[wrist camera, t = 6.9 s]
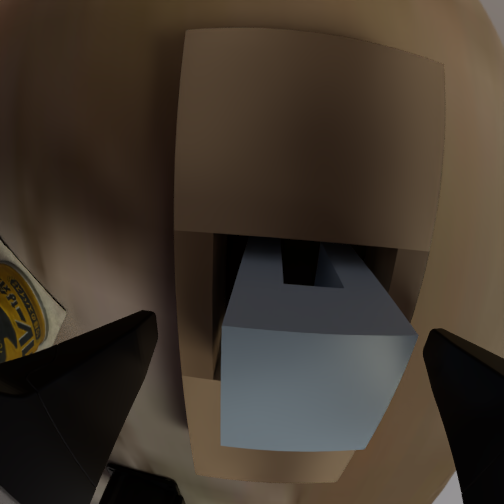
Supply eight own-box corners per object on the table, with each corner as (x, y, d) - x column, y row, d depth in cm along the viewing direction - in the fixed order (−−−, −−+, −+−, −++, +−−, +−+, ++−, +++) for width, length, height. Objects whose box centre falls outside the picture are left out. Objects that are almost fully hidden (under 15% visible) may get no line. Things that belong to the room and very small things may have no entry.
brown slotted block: (204, 437, 16) (195, 474, 13) (206, 58, 10) (185, 30, 7) (331, 444, 15) (336, 481, 13) (407, 81, 9) (443, 64, 6)
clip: (243, 323, 13) (220, 445, 7) (249, 235, 12) (221, 325, 5) (332, 330, 13) (364, 449, 7) (349, 244, 12) (418, 335, 5)
